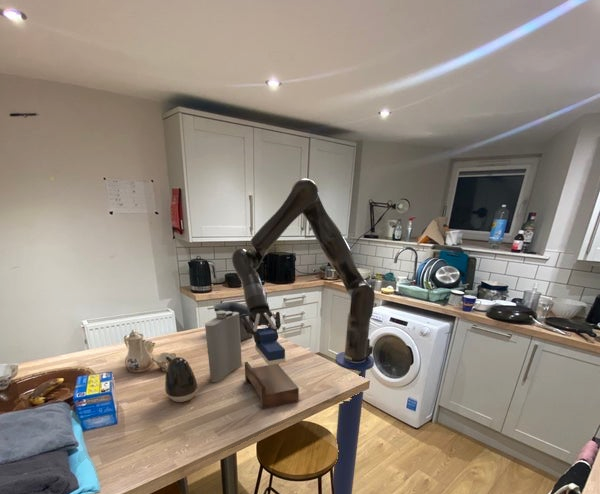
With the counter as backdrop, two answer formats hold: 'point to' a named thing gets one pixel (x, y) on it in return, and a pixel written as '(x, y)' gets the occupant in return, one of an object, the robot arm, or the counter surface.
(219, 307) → the storage bin
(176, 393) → the dark brown tall dome
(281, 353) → the trainer
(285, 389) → the shoe shelf
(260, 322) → the robot arm
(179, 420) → the counter surface
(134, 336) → the chinaware
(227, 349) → the flask
